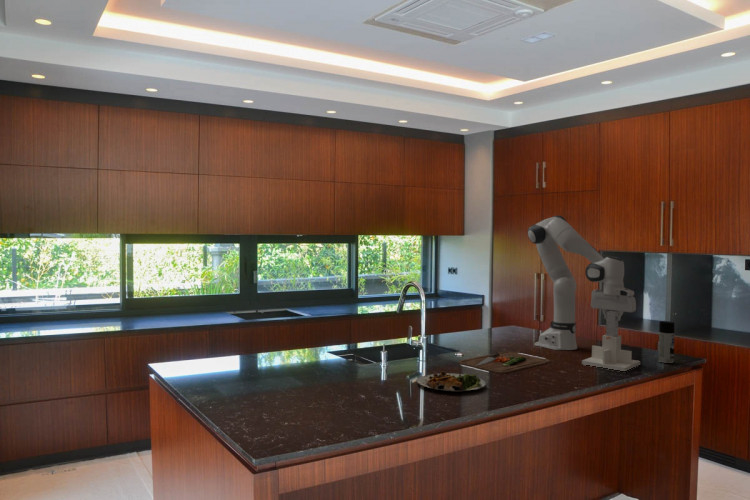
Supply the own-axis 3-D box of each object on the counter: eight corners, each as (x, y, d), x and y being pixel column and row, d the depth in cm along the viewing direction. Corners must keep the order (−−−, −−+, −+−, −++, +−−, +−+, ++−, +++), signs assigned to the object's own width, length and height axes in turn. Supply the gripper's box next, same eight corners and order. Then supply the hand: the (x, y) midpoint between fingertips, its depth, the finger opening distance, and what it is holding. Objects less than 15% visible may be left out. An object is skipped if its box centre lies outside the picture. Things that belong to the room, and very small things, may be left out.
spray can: (672, 365, 276) (673, 323, 275) (656, 362, 280) (658, 322, 279) (674, 362, 281) (676, 321, 280) (659, 360, 285) (660, 320, 284)
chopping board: (497, 376, 251) (498, 369, 251) (452, 365, 271) (452, 358, 271) (555, 362, 280) (555, 356, 280) (510, 352, 300) (510, 347, 300)
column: (605, 349, 273) (606, 311, 273) (608, 348, 276) (609, 310, 276) (614, 350, 270) (615, 312, 270) (617, 349, 273) (618, 311, 273)
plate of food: (499, 386, 233) (499, 371, 233) (457, 399, 214) (457, 383, 214) (445, 375, 253) (445, 362, 253) (402, 386, 234) (402, 371, 234)
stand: (581, 364, 273) (582, 335, 273) (598, 358, 288) (599, 330, 287) (624, 372, 260) (625, 341, 259) (640, 365, 274) (641, 336, 274)
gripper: (589, 289, 277) (588, 317, 278) (633, 293, 263) (631, 323, 264) (594, 288, 282) (593, 316, 282) (637, 292, 268) (636, 321, 268)
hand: (612, 319), depth 273 cm, fingers closed on column, 4 cm apart
